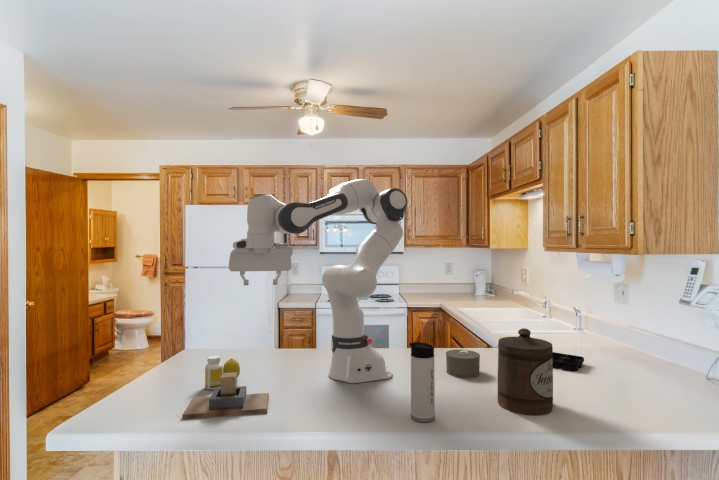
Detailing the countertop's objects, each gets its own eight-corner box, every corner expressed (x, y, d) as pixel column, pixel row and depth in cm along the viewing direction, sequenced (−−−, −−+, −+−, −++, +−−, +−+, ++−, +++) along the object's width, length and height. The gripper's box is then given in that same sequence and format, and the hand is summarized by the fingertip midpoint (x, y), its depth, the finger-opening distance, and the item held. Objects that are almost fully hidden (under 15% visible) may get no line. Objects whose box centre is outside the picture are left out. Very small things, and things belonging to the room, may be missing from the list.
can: (443, 375, 144) (442, 356, 144) (448, 366, 155) (448, 348, 155) (478, 380, 140) (478, 359, 140) (481, 370, 151) (481, 351, 151)
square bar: (237, 399, 119) (237, 372, 119) (235, 405, 115) (235, 376, 115) (222, 400, 118) (222, 373, 118) (220, 406, 114) (220, 377, 115)
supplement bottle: (226, 385, 135) (226, 355, 135) (215, 391, 130) (215, 360, 130) (212, 383, 137) (212, 354, 137) (201, 389, 132) (201, 358, 132)
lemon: (234, 385, 135) (234, 361, 135) (219, 384, 136) (219, 360, 136) (242, 380, 140) (242, 356, 140) (228, 379, 141) (228, 355, 141)
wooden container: (549, 420, 108) (548, 336, 108) (492, 408, 115) (491, 330, 116) (556, 401, 120) (555, 326, 120) (504, 392, 128) (503, 321, 128)
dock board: (268, 396, 125) (268, 392, 125) (267, 412, 113) (267, 408, 113) (192, 402, 121) (192, 397, 121) (182, 419, 109) (182, 414, 109)
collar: (246, 396, 122) (246, 386, 122) (243, 408, 113) (243, 397, 113) (214, 398, 120) (214, 388, 120) (209, 410, 111) (209, 399, 112)
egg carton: (504, 352, 175) (504, 344, 176) (584, 362, 161) (583, 352, 161) (497, 363, 160) (497, 353, 160) (584, 374, 146) (584, 364, 146)
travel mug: (407, 413, 112) (407, 340, 112) (431, 412, 113) (430, 339, 113) (412, 423, 106) (412, 346, 106) (437, 422, 106) (437, 345, 107)
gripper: (292, 243, 140) (292, 283, 140) (230, 243, 137) (230, 284, 136) (292, 243, 134) (292, 285, 134) (227, 243, 130) (227, 286, 130)
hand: (260, 284), depth 135 cm, fingers open, 8 cm apart
